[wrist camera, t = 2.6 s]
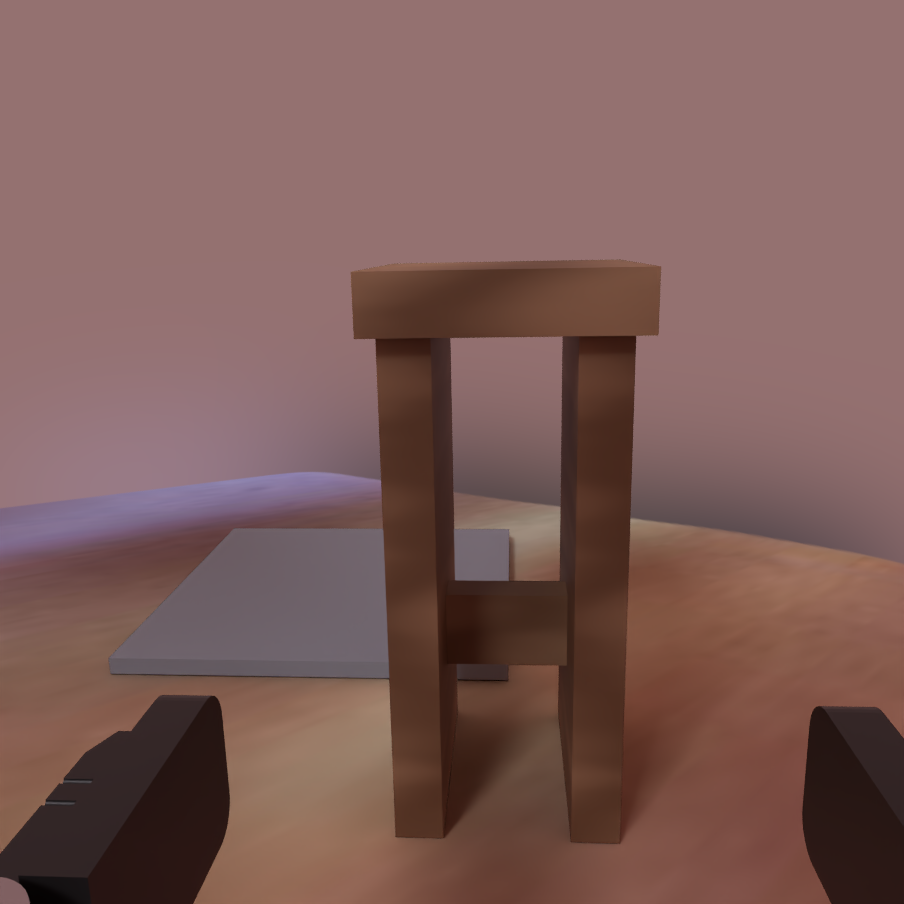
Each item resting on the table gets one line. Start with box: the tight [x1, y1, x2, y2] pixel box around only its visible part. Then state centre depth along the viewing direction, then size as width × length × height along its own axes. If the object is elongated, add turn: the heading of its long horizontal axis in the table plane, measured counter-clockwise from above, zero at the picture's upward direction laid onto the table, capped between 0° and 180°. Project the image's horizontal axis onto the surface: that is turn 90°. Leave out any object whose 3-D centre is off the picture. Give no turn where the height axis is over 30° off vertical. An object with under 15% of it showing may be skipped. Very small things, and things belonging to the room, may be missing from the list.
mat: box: [109, 528, 509, 680], centre depth 36 cm, size 14×14×1 cm
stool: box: [351, 260, 661, 843], centre depth 23 cm, size 6×7×14 cm
